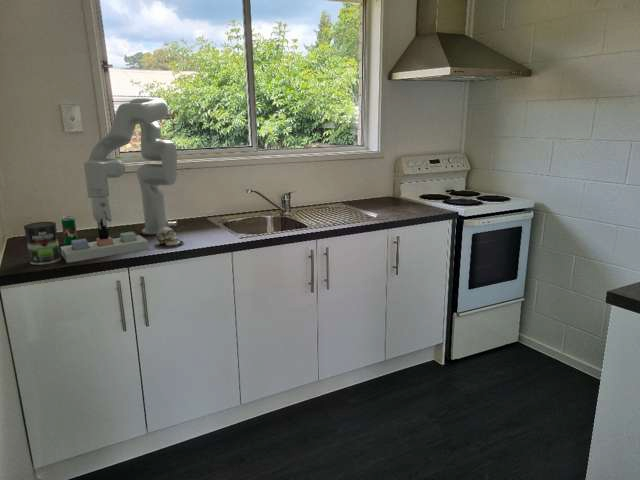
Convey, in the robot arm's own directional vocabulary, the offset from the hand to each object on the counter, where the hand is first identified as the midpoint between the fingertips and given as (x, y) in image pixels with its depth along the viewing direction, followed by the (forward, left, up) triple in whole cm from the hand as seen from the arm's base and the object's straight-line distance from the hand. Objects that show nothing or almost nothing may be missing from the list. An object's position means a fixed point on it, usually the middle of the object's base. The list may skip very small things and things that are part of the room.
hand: (103, 238), depth 184 cm
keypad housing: (0, 0, -6) cm, 6 cm away
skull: (-24, +5, -6) cm, 25 cm away
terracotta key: (0, 0, -4) cm, 4 cm away
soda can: (+9, -21, -6) cm, 24 cm away
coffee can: (+21, -2, -6) cm, 22 cm away
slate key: (+9, 0, -4) cm, 9 cm away
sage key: (-9, 0, -3) cm, 10 cm away
